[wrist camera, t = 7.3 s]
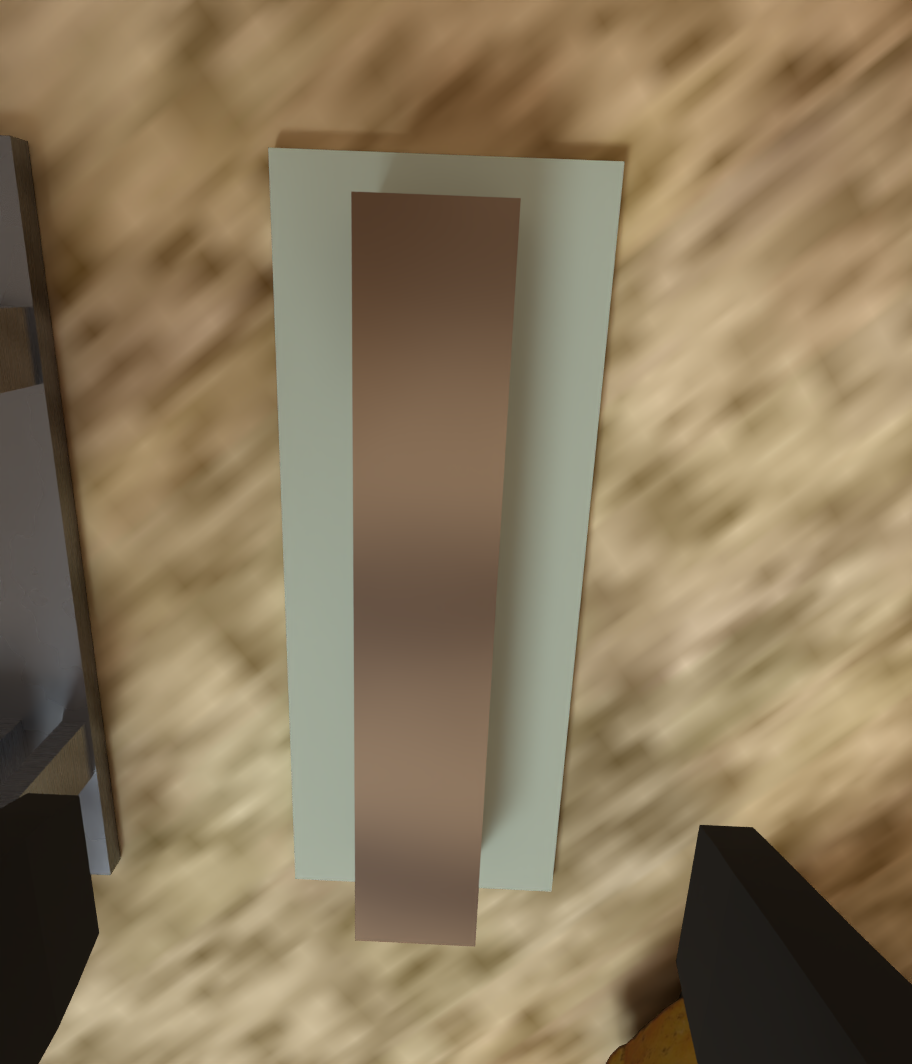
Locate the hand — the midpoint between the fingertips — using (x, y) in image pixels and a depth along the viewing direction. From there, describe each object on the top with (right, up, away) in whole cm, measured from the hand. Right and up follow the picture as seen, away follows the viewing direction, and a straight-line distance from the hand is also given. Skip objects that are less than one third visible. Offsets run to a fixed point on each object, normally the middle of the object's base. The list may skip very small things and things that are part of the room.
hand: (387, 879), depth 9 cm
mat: (0, +3, +9) cm, 10 cm away
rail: (0, +3, +9) cm, 9 cm away
